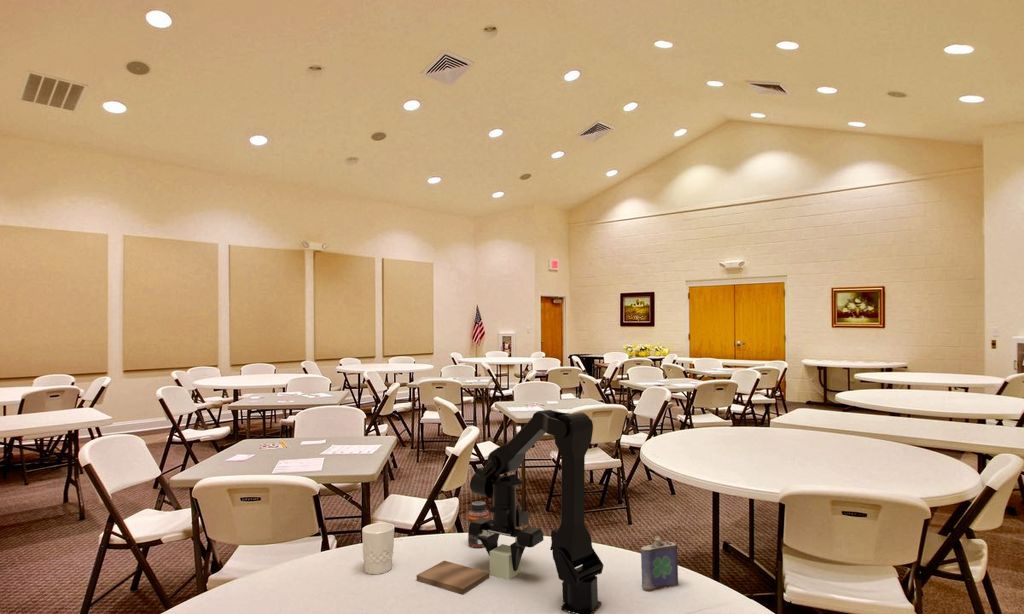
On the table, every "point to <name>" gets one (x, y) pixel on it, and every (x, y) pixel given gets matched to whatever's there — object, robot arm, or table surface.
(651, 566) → the flask
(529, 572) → the table surface
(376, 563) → the white cup
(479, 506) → the supplement bottle
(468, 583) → the walnut board
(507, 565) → the sage cube
